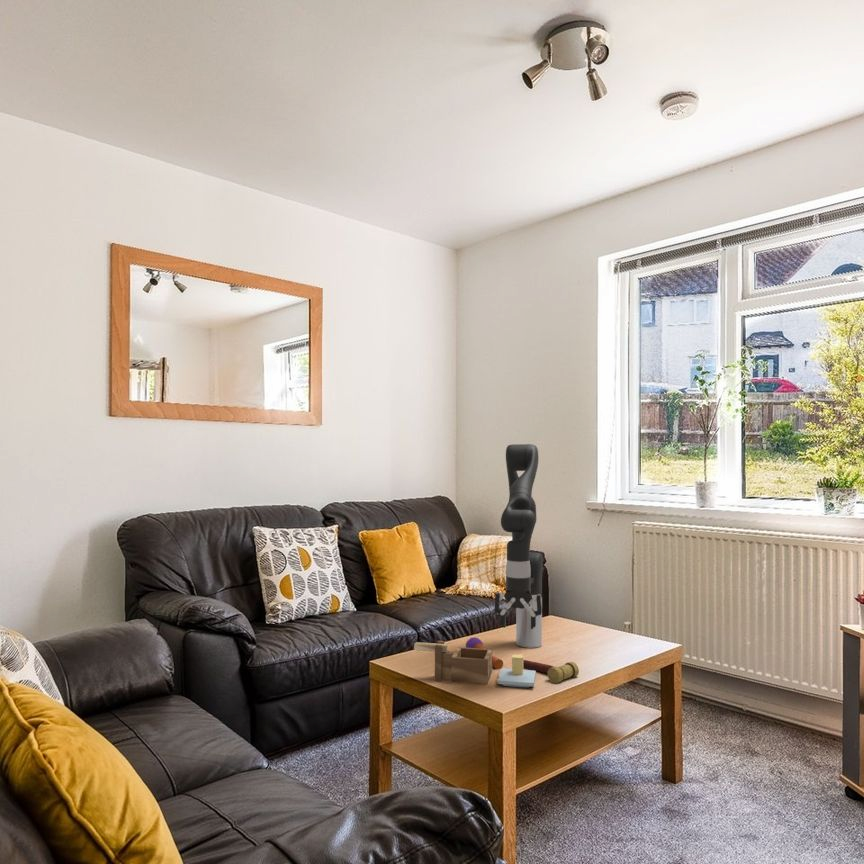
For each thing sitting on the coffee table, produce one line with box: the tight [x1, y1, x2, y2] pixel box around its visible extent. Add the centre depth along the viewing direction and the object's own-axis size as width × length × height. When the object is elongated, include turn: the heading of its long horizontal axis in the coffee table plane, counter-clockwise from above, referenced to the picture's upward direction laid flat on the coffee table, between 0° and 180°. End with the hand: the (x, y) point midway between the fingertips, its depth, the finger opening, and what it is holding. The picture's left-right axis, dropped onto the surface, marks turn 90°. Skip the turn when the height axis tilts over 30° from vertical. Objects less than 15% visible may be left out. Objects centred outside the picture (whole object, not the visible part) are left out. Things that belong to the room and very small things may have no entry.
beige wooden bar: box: [413, 641, 449, 653], centre depth 206 cm, size 2×10×2 cm, turn 78°
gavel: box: [523, 659, 580, 684], centre depth 212 cm, size 21×5×10 cm
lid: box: [497, 653, 537, 689], centre depth 203 cm, size 12×11×7 cm
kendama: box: [465, 637, 504, 670], centre depth 224 cm, size 6×6×20 cm
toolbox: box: [434, 640, 493, 685], centre depth 208 cm, size 12×16×11 cm
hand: (518, 627), depth 206 cm, fingers open, 8 cm apart
